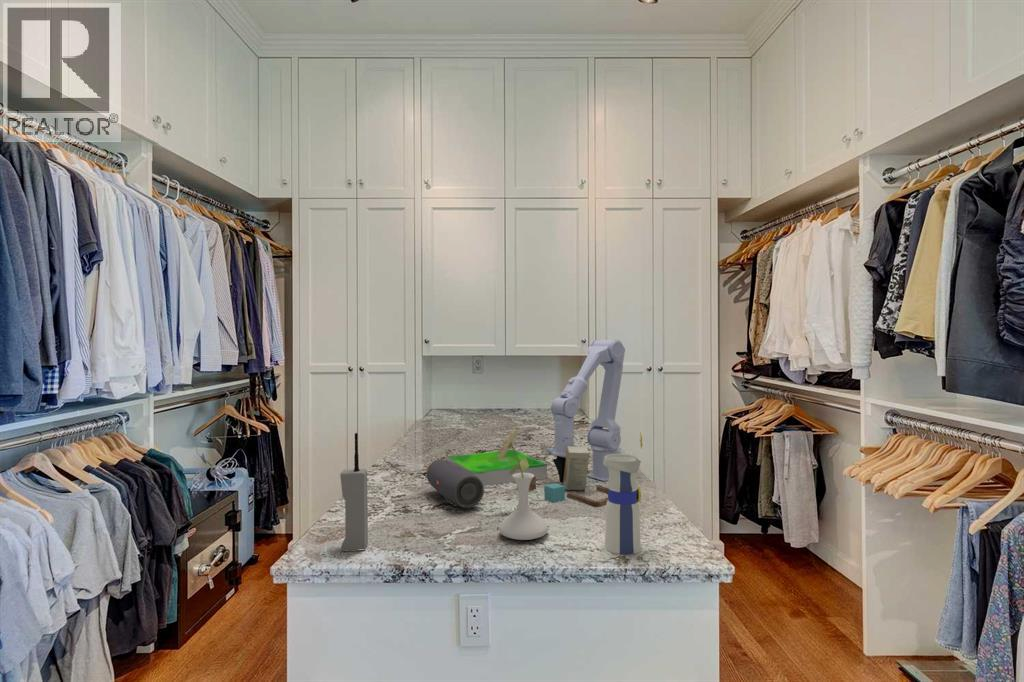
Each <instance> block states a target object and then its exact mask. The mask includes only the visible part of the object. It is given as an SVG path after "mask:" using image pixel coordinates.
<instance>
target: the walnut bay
mask: <svg viewBox="0 0 1024 682" xmlns="http://www.w3.org/2000/svg"><path fill="white" fill-rule="evenodd" d="M596 491H598V492H602V493H604V494H605V493H606V494H608V488H607V486H602V485H598V486H596ZM566 497H567V498H569V499H571V498H572V499H571V500H574V499H575V501H577V500H578V501H577V502H580V503H583V504H586V505H588V504H589V506H591V507H595V508H597V507H601V506H606V504H607V501H608V497H604V498H602V499H598V500H594V499H591V498H588V497H586V496H583V495H581V494H580V495H579V494H577V493H574V492H567V493H566Z"/></svg>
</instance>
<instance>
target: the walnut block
mask: <svg viewBox="0 0 1024 682" xmlns="http://www.w3.org/2000/svg"><path fill="white" fill-rule="evenodd" d="M534 489H536V490H537V480H536V477H535V476H534V477H533V478H532V480H531V482H530V485H529V490H533V491H535V490H534Z"/></svg>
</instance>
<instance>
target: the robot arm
mask: <svg viewBox="0 0 1024 682" xmlns="http://www.w3.org/2000/svg"><path fill="white" fill-rule="evenodd" d="M625 352H626V348H625V346H624V345H623V342H622V341H620V339H594V340H592V341H591V343H590V345H589V346H588V347H587V355H586V358H585V360H584V362H583V364H582V366H581V368H580V370H579V371H578V374H577V375H576V376H573V377H571V378H570V379H568V381H567V382H568V383H567V384H566V386H565V388H564V389H563V390H562V391H561V394H560V396H557V397H556V398H554V400H553V401H552V403H551V405H550V411H551V413H552V416H553V421H554V448H553V447H547V448H546V449H545V451H546V455H547V456H549V455H550V456H554V457H556V458H553V459H552V462H553V464H554V466H555V468H556V471H557V473H558V478H559V479H558V480H559V483H561V484H563V479H564V470H565V460H566V450H567V446H575V445H574V441H575V440H574V439H575V438H574V435H575V434H574V433H575V431H574V430H575V427H574V425H575V416H576V415H577V414H578V412H579V405H580V401H581V399H582V397H583V396H584V395H585V393H586V392H587V389H588V383H587V382H588V381H589V379H590V378H591V376H592V375H593V374H594V373H595V371H596V370H597V368H598V366H599V365H600V366H602V368H603V369H604V375H603V376H604V377H603V382H602V388H601V394H600V401H599V407H598V408H599V409H598V414H597V417H596V419H594V420H593V421H592V422H591V423H590V427H589V430H588V431H587V434H586V435H587V436H586V441H587V443H588V444H589V446H590V449H591V450H592V473H590V474H588V473H587V478H591V479H594V480H599V481H600V482H601V481H602V482H608V480H609V471H608V467H606V466H604V465H603V461H604V457H605V456H606V455H610V454H623V453H622V452H621V450H620V449H619V447H620V445H621V442H622V440H621V439H622V438H621V429H622V428H621V426H620V425H619V424H618V423H617V422H616V421H615V419H616V414H617V408H618V401H619V394H620V387H621V381H622V376H623V375H622V374H623V369H624V366H623V365H624V359H625Z"/></svg>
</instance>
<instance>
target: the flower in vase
mask: <svg viewBox="0 0 1024 682" xmlns="http://www.w3.org/2000/svg"><path fill="white" fill-rule="evenodd" d="M517 435H518V429H517V428H513V429H511V430H510V432H509V435H508V437H507V438H504V439H503V442H502V443H503V445H501V447H500V448H499V449H498V450H497V451H498V452H500V453H499V454H498V455H497V457H499V459H500V458H502V457H503V456H504V455H505V454H506V453H507V452H508V450H513V451H514V453H515V455H516V457H517V460H518V464H516V465H514V466H513V467H512V469H511V471H510V473H509V474H513V473H515V472H516V470H517V469H518V467H519V469H520V471H521V473H516V474H513V475H512V477H513V478H514V479H515V481H516V482H515V483H516V484H515V485H516V489H517V488H518V489H517V494H518V495H517V496H518V501H517V502H518V503H517V506H516V508H515V509H514V511H512V512H511V513H510V514H508V515H507V516H506V517H505V518H504V519H503V520H502V521H501V522H500V524H499V526H498V531H499V532H500V534H501V535H502V536H504V537H505V538H509V539H512V540H516V541H517V540H518V541H528V540H529V541H530V540H534V539H535V540H536V539H538V538H541V537H544V536H545V535H546V534H547V533H548V531H549V525H548V523H547V522H546V520H544V519H543V518H542V517H540V516H539V515H538V514H537V513H536V512H535V511H534V510H532V509H531V507H530V505H529V492H530V491H529V485H530V482H531V480H532V478H533V477H534V475H533V474H531V473H523V472H522V471H524V470H526V469H527V468H529V464H528V461H527V459H526V457H525V458H524V459H522V460H521V461H520V462H519V458H518V456H517V453H516V451H517V450H516V449H515V447H514V445H513V444H514V441H515V440H516V437H517ZM515 450H516V451H515Z"/></svg>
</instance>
